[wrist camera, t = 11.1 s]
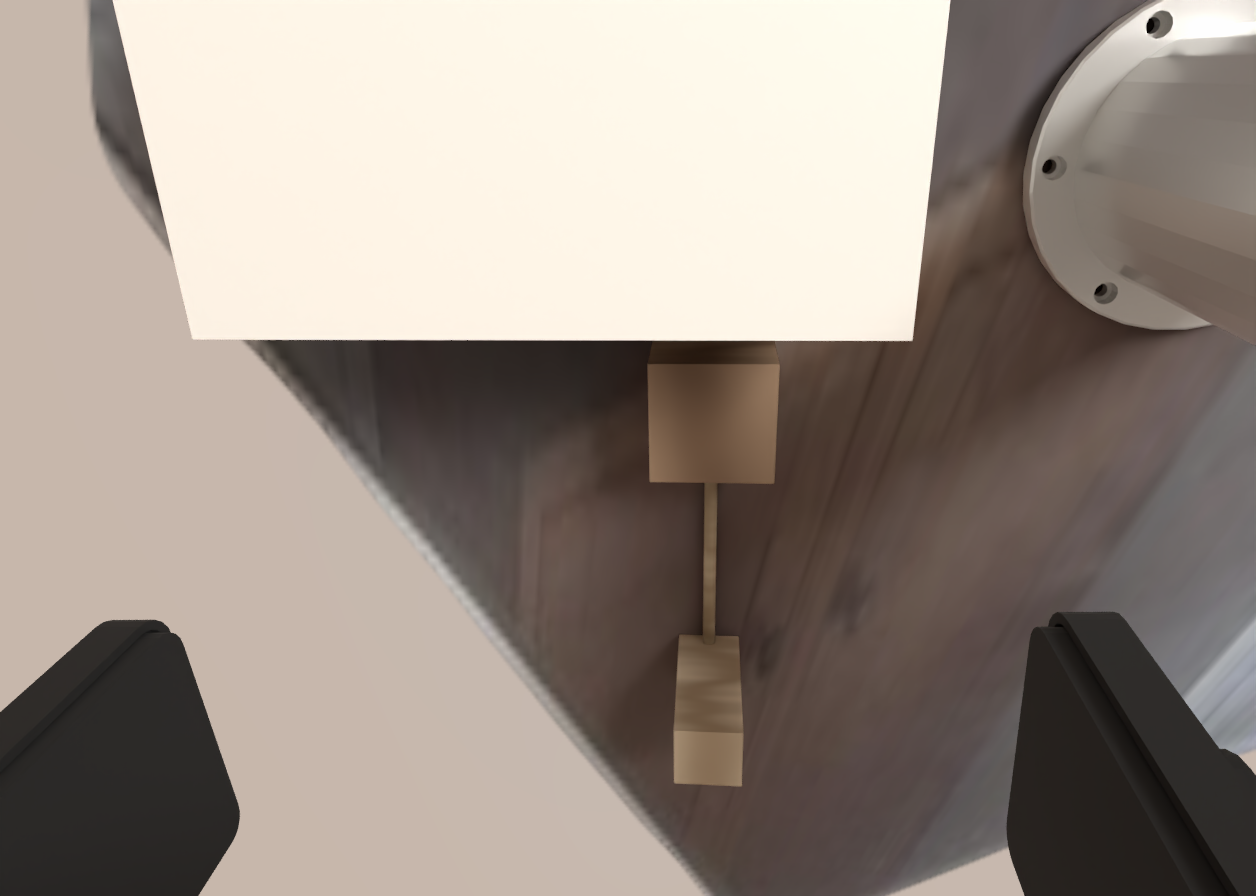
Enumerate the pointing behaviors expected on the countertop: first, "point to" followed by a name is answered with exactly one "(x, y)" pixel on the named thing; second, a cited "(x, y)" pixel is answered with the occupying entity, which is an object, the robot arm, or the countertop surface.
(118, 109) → the countertop surface
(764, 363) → the wooden block tool
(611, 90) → the cubby shelf
